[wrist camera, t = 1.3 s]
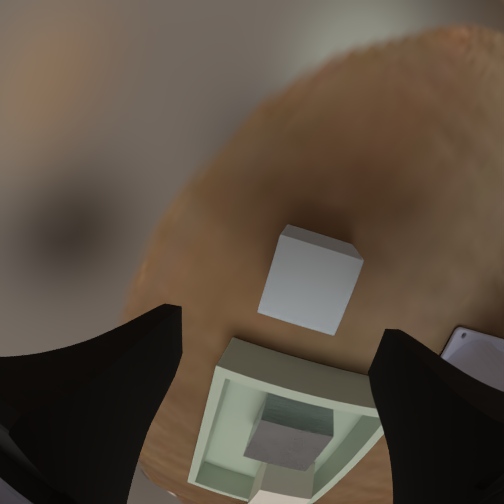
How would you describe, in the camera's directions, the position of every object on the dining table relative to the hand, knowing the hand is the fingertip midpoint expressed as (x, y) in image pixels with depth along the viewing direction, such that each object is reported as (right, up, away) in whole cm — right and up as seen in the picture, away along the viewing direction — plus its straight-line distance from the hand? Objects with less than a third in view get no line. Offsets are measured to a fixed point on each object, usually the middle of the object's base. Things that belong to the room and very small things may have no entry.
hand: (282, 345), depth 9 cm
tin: (+2, -11, +12) cm, 16 cm away
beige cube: (+2, -20, +14) cm, 24 cm away
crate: (+1, -14, +13) cm, 20 cm away
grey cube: (+3, +2, +9) cm, 10 cm away
